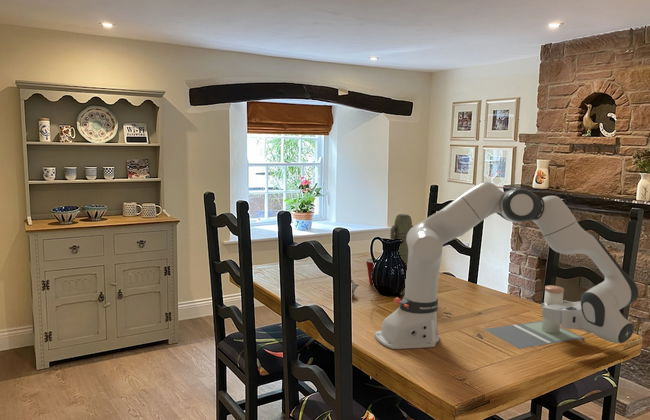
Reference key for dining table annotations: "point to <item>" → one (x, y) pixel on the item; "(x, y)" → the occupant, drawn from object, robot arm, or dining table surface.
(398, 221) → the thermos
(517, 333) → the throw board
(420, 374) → the dining table surface
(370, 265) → the plastic cup
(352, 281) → the game die
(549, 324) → the ball canister
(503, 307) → the dining table surface
